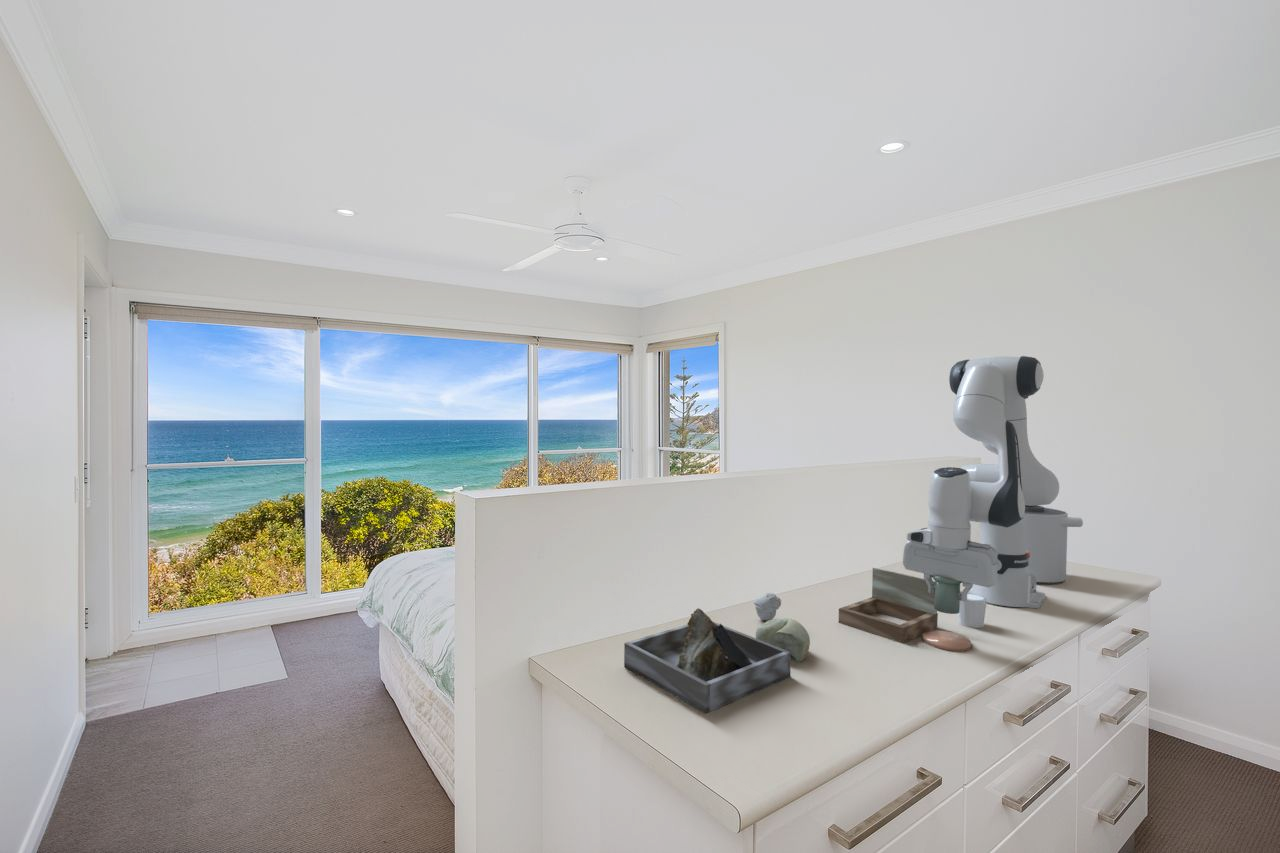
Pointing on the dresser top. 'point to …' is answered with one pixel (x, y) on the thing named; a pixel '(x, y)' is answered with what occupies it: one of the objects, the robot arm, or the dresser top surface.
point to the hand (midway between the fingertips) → (947, 596)
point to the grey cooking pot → (1047, 542)
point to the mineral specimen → (709, 649)
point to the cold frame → (894, 607)
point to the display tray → (659, 666)
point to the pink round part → (946, 640)
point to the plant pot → (946, 594)
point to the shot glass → (972, 611)
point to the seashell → (785, 636)
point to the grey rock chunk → (767, 606)
